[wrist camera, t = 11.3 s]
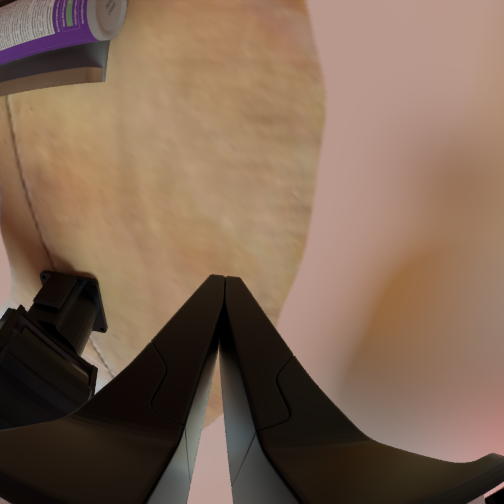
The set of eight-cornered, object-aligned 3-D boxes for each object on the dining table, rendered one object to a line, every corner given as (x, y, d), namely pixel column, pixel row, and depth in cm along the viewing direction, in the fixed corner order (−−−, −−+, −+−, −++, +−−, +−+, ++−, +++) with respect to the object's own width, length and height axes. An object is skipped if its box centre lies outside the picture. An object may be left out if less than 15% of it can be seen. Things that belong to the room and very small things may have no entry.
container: (124, 38, 14) (-22, 73, 13) (131, -23, 11) (-21, 25, 10) (92, 41, 11) (-58, 89, 9) (100, -35, 8) (-59, 35, 6)
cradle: (104, 81, 16) (84, 82, 13) (-35, 105, 14) (-56, 112, 12) (125, -32, 11) (108, -46, 9) (-25, 16, 10) (-46, 16, 7)
